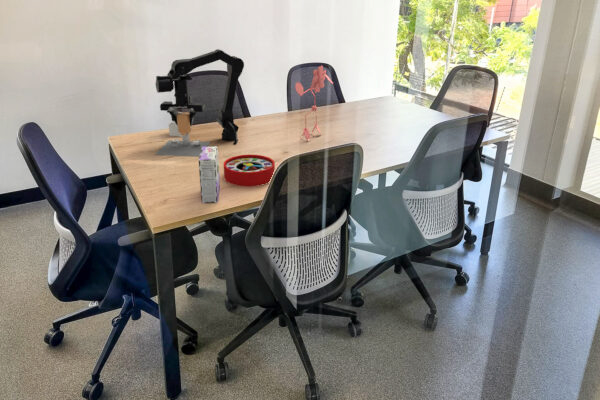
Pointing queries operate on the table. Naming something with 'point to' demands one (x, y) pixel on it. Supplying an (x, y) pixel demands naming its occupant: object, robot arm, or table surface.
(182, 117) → the tan rounded piece
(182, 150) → the stand
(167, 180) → the table surface
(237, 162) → the toy clock
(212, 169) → the candy box
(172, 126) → the medicine bottle
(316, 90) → the figurine
